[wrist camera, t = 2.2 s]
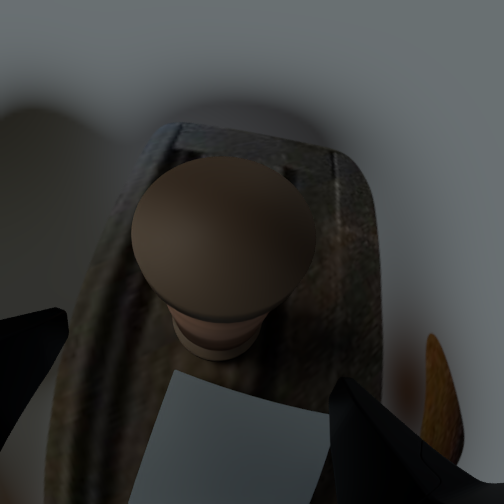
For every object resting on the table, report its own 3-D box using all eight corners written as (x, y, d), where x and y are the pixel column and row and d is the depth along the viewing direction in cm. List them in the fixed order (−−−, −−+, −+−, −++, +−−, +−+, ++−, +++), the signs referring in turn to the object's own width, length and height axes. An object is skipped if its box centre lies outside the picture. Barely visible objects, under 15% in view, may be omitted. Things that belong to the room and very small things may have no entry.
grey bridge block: (276, 521, 13) (290, 544, 9) (143, 485, 13) (128, 503, 10) (315, 413, 17) (338, 416, 14) (182, 374, 17) (174, 369, 14)
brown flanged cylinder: (245, 373, 18) (292, 342, 8) (161, 342, 18) (98, 271, 8) (270, 294, 21) (327, 186, 10) (192, 268, 21) (180, 141, 11)
